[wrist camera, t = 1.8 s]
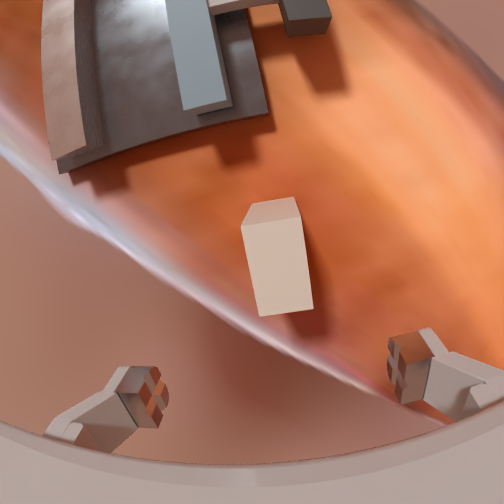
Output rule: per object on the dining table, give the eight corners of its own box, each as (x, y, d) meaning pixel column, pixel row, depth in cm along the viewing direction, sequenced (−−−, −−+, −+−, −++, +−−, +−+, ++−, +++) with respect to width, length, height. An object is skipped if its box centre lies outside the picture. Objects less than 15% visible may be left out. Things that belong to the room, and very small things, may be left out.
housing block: (293, 196, 25) (300, 216, 17) (304, 264, 27) (313, 308, 19) (251, 203, 25) (240, 226, 18) (264, 270, 27) (259, 316, 19)
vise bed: (226, -58, 17) (219, -83, 13) (268, 115, 23) (267, 106, 19) (54, 12, 20) (30, 2, 15) (68, 172, 25) (39, 178, 21)
